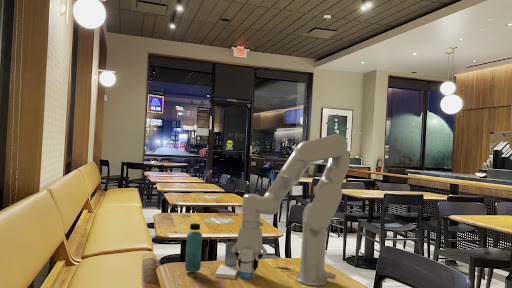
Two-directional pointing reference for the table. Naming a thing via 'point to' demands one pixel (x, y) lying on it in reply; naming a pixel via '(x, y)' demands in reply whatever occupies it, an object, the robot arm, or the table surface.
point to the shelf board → (227, 271)
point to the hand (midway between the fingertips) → (247, 268)
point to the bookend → (230, 255)
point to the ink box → (247, 263)
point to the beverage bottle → (193, 249)
